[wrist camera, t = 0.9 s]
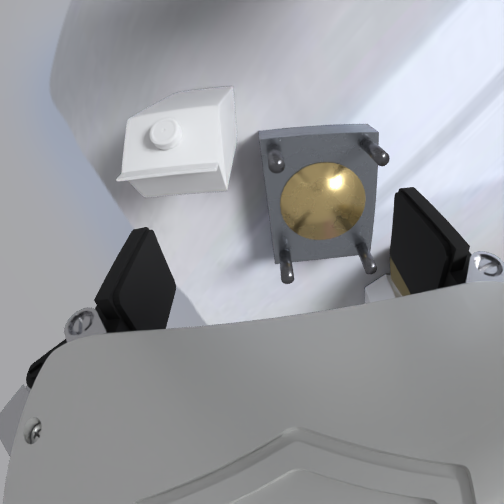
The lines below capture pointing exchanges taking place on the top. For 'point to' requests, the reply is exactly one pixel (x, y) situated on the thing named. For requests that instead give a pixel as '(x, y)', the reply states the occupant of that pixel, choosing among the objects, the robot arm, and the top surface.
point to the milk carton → (182, 144)
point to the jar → (381, 290)
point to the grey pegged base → (321, 192)
